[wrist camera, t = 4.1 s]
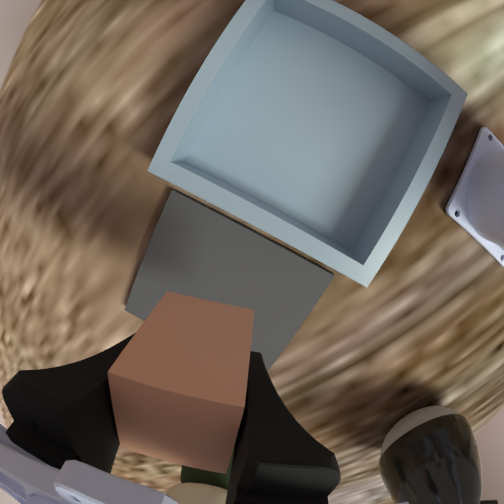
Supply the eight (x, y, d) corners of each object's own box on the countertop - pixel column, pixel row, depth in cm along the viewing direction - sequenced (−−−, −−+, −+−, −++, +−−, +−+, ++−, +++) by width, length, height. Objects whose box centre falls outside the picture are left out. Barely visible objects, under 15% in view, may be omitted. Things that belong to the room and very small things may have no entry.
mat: (332, 272, 20) (334, 275, 19) (262, 374, 23) (262, 377, 22) (174, 189, 19) (171, 189, 18) (127, 306, 22) (124, 309, 21)
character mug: (158, 441, 27) (124, 535, 14) (177, 409, 25) (138, 524, 12) (245, 473, 28) (236, 565, 15) (277, 446, 26) (276, 556, 13)
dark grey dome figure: (436, 441, 26) (473, 532, 11) (361, 457, 26) (383, 566, 12) (468, 382, 23) (531, 483, 8) (385, 398, 23) (433, 535, 9)
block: (254, 309, 13) (244, 407, 7) (239, 376, 14) (226, 474, 8) (167, 291, 13) (107, 372, 7) (163, 359, 14) (120, 446, 8)
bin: (440, 101, 16) (467, 93, 12) (352, 267, 20) (366, 287, 16) (267, -1, 15) (266, -27, 11) (167, 169, 19) (147, 170, 15)
